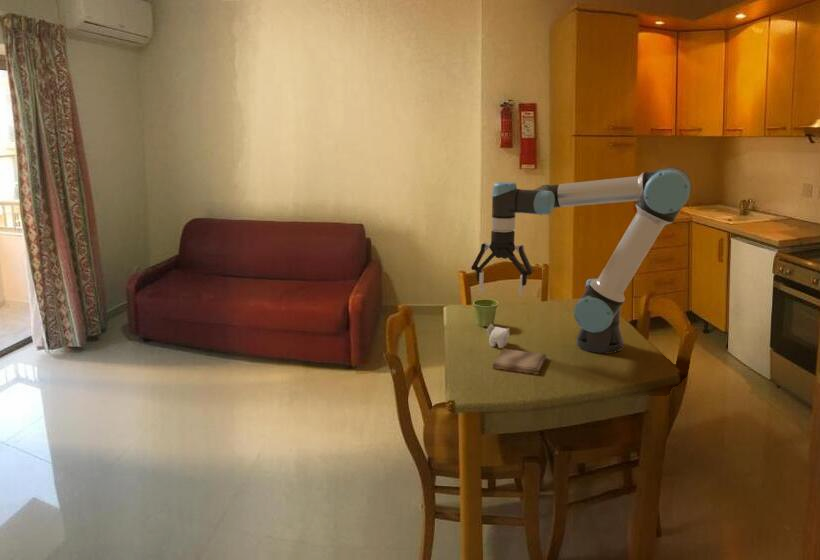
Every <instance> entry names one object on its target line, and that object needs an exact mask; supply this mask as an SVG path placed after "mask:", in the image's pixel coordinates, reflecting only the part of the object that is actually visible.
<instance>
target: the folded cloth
mask: <svg viewBox="0 0 820 560" xmlns="http://www.w3.org/2000/svg"><path fill="white" fill-rule="evenodd" d="M546 359H547V354H546V353H542V352H541V353H540V352H534V351H533V352H531V351H525V350H518V349H517V350H515V349H510V348H509V349H508V348H502V351H500V353H499V354H498V356H497V357H496V359H495V361H493V363H492V369H493V368H494V369H495V370H500V369H503V370H502V371H508V370H509V372H515V371H517V372H516V373H522V372H524V374H529V373H539V374H540V372H541V370H542V368H543V366H544V364H543V363H545V362H544V361H546ZM542 365H543V366H542ZM541 367H542V368H541ZM540 369H541V370H540ZM539 371H540V372H539Z"/></svg>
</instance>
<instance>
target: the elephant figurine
mask: <svg viewBox="0 0 820 560" xmlns="http://www.w3.org/2000/svg"><path fill="white" fill-rule="evenodd" d="M494 325H495V324H494ZM494 325H492V324H490V325H489V327H487V328H486V334H487V337H489V339H488V342H489V346H490V347H492V348H493V347H495V348H496V346H497V348H499V349H504V347H506V346H507V344H508V341H509V339H510V337H511V335H510V329H511V328H510V327H507V328H504V327H500V326H494Z"/></svg>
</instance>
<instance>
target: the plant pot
mask: <svg viewBox="0 0 820 560" xmlns="http://www.w3.org/2000/svg"><path fill="white" fill-rule="evenodd" d="M472 304H473V306H474V311H475V315H476V316H475V317H476V324H477V326H479V327H481V328H483V327H487V328H488V327H489V325H490V324H492V325H495V318H496V313H497V312H496V311H497V308H498V306H499V305H500V303H499V302H498V301H497V300H495V299H489V298H482V299H481V298H480V299H476V300H474V301H473V302H472Z"/></svg>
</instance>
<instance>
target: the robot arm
mask: <svg viewBox="0 0 820 560" xmlns="http://www.w3.org/2000/svg"><path fill="white" fill-rule="evenodd" d="M692 183H693V182H692V180H691V177H690V176H689V174H688V173H687V171H685V170H684V169H681V168H680V167H676V166H668V167H665V168H661V169H657V170H652V171H643V172H642V173H641V174H639V175H635V176H627V177H626V176H625V177H618V178H616V177H615V178H610V179H609V178H607V179H606V178H605V179H598V180H588V181H579V182H569V183H559V184H544V185H543V184H542V185H540V186H539V187H536V188H535V189H520V188H517V183H516V182H513V181H498V182H497V181H496V182H495V183H494V184H493V185H492V196H491V200H492V201H491V202H492V205H491V209H492V210H491V227H490V228H491V229H492V230H491V233H490V234H491V235H490V243H487V242H483V243H481V246H480V251H479V253H478V254H477V256H476V258H475V260H474V262H473V264H472V265H471V270H472V271H475V272H476V282H479V283H478V292H481V293H482V292H483V291H484V280H485V278H484V274H485V271H483V269H485V267H486V266H487V265H488V264H489V263H490V261H492V259H493V258H494V257H495V258H496V259H504V260H506V259H508V260H510V261H511V262H512V264H513V265H514V266H515V268H516V269H517V270H518V272H519V273H520V275H519V286H518V287H519V288H518V289H519V290H518V295H519V296H521V297H522V295H523V294H524V286H526V285H527V283H528V276H531V275H532V274H533V273H534V270H533V268H532V265H531V264H530V261H529V260H528V257H527V255H526V252H525V246H524V245H523V244H521V245H515V235H516V234H515V229H516V213H517V214H531V215H540V216H542V215H547V216H548V215H551V214H553V212H554V211H553V210H554V209H555V208H564V207H566V208H567V207H578V206H579V207H580V206H588V205H601V204H611V203H614V204H615V203H623V202H624V203H626V202H636V203H635V208H636V213H635V215H634V217H633V218H632V220H631V221H630V224H629V225H628V227H627V228H626V230H625V232H624V233H623V236H622V237H621V239H620V241H619V242H618V244H617V245H616V248H614V251H612V252H613V253H612V254H611V256H610V257H609V259H608V261H607V263H606V264H605V266H604V268H603V270H602V271H601V272H600V275H599V276H598V277H597V278H588V279H587V280H586V282H585V285H584V288H585V291H584V292H583V293H582V295H581V297H580V299H579V300H578V301H577V302H576V304H575V305H574V310H573V317H574V320H575V322H576V323H577V325H578V326H579V327H580V330H579V331H578V334H577V336H576V346H577V347H578V348H579V349H581V350H584V351H587V352H590V351H592V352H591V353H595V352H599V353H598V354H608V353H607V352H615V351H618V350H620V349H622V348H624V339H623V335H622V331H621V327H620V321H621V320H620V318H621V307H622V306H623V304H624V302H625V300H626V298H625V295H624V292H625V291H626V289H627V287H628V286H629V284H630V282H631V281H632V279H633V278H634V276H635V274H636V273H637V271H638V269H639V268H640V266H641V265H642V262H643V261H644V259H645V258H646V257H647V255H648V253H650V252H649V251H650V250H651V248H652V247H653V245H654V244H655V241H656V240H657V238H658V237H659V236H660V233H661V232H662V230H663V228H665V226H667V225H671V224H673V223H674V222H675V220H676V218H677V216H678V215H679V213H680V211H681V210H682V209H683V207H684V206H685V205H686V203H687V202H688V200H689V198H690V194H691V192H692V188H693V185H692ZM487 250H490V251H491V254H490V255H489V256H487V258H486V259H485V260H484V261H483V262H482V263H481V264H480V262H481V260H482V258H483V256H484V255H485V252H486V251H487ZM515 250H516V252H517V253H518V254H519V257H520V260H521V261H522V263H523V264H522V263H521V262H520V261H519V260H518V258H517V257H516V255H515V254H514V252H515ZM479 264H480V265H479ZM523 265H524V266H523ZM622 350H623V349H622ZM615 353H616V352H615Z"/></svg>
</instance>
